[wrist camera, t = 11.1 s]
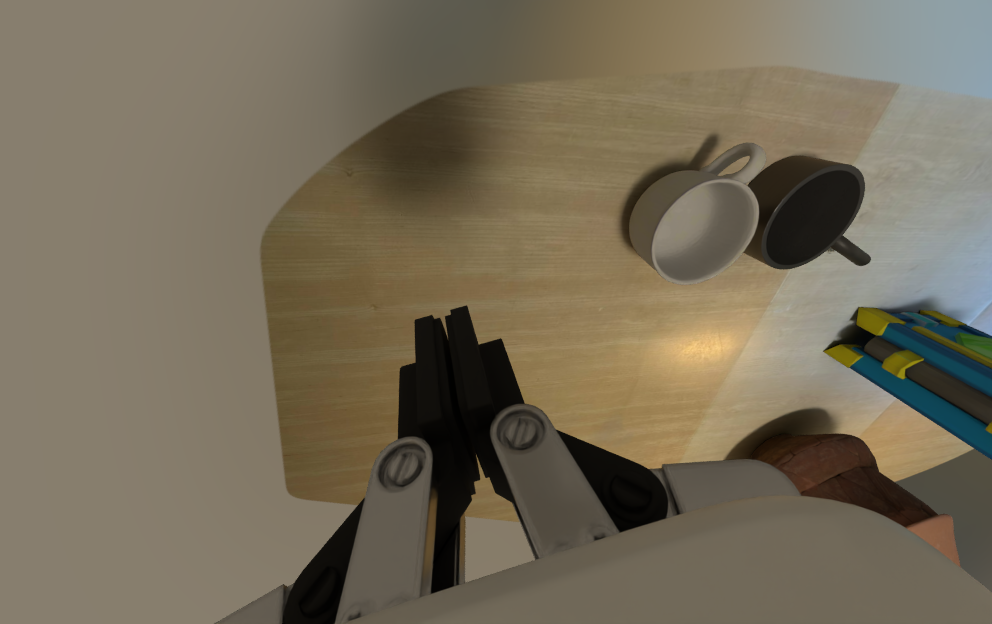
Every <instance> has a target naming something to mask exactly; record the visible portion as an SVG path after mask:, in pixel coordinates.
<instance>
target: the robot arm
mask: <svg viewBox="0 0 992 624" xmlns="http://www.w3.org/2000/svg"><path fill="white" fill-rule="evenodd" d="M450 311H451V315H448V316H445V320H446V327H447V333H448V338H447V335H446V332H445V329H444V327H443V324H442V321H441V319H440V318H437V319H434V317H433V316H432V315H430V316H427V317H423V318H419V319H416V320H415V354H416V363H413V364H409V365H406V366H402V367H401V368H400V379H399V416H398V440H396V441H394V442H392V443H391V444H389V445H388V446H387V447H386V448H385V449H384V450H382V451H381V453H380V454H379V456H378V457H377V458H376V460H375V462H374V465H373V468H372V471H371V475H370V479H369V483H368V487H367V492H366V496H365V498H364V499H363V500H362V501H361V502H360V504H359V505H358V506H357V507H356V508H355V510H354V511H353V512H352V513H351V514H350V515H349V517H348V518H347V519H346V520H345V521H344V523H343V524H342V525H341V526H340V527H339V529H338V530H337V531H336V532H335V533H334V535H333V536H332V537H331V538H330V539H329V540H328V541H327V543H326V544H325V545H324V547H322V549H321V550H320V551H319V552H318V553H317V555H316V556H315V557H314V558H313V559H312V560H311V562H310V563H309V564H308V565H307V567H306V568H305V569H304V570H303V571H302V573H301V574H300V576H299V577H298V578H297V580H296V581H295V583H293V584H292V585H290V586H288V587H287V586H285V585H284V584H283V585H281V586H279V587H278V588H276V589H274V590H272V591H271V592H269V593H267V594H265V595H264V596H262V597H260V598H258V599H257V600H255V601H253V602H251V603H250V604H248V605H246V606H244V607H243V608H241V609H239V610H237V611H236V612H234V613H232V614H230V615H229V616H227V617H225V618H223V619H222V620H220V621H218V622H216V623H214V624H992V593H991V592H990V591H989V590H988V589H986V588H985V587H984V586H983V585H982V584H981V583H979V582H978V581H977V580H976V579H974V578H973V577H972V576H970V575H969V574H968V573H967V572H965V571H964V570H963V569H962V568H960V567H959V566H958V565H956V564H955V563H954V562H953V561H951V560H950V559H949V558H948V557H946V556H945V555H944V554H943V553H941V552H940V551H939V550H937V549H936V548H934V547H933V546H932V545H930V544H929V543H927V542H926V541H925V540H923V539H922V538H920V537H919V536H917V535H916V534H914V533H913V532H911V531H910V530H908V529H907V528H905V527H903V526H902V525H900V524H898V523H896V522H894V521H893V520H891V519H889V518H887V517H885V516H883V515H881V514H879V513H876V512H874V511H871V510H868V509H865V508H862V507H859V506H856V505H852V504H848V503H843V502H839V501H835V500H830V499H822V498H815V497H808V496H801V494H800V493H799V491H798V490H797V488H796V487H795V485H794V484H793V483H792V482H791V480H790V479H789V478H788V477H787V476H786V475H785V474H784V473H783V472H781V471H780V470H778V469H777V468H775V467H774V466H772V465H770V464H767V463H765V462H762V461H759V460H751V459H738V460H723V461H707V462H692V463H676V464H662V468H659V469H647V468H645V467H644V466H642V465H640V464H638V463H635V462H633V461H630V460H628V459H626V458H623V457H621V456H618V455H616V454H614V453H611V452H609V451H606V450H604V449H602V448H599V447H597V446H594V445H592V444H589V443H587V442H585V441H582V440H580V439H577V438H575V437H573V436H570V435H568V434H565V433H563V432H561V431H558V430H556V429H555V428H554V426H553V425H552V423H551V421H550V420H549V418H548V417H547V415H546V414H545V413H544V412H543V411H542V410H541V409H539V408H537V407H536V406H533V405H529V404H525V403H524V400H523V397H522V395H521V392H520V389H519V386H518V383H517V381H516V378H515V375H514V372H513V369H512V366H511V364H510V361H509V358H508V355H507V352H506V350H505V347H504V344H503V341H502V339H497V340H494V341H490V342H487V343H483V344H480V345H478V341H477V338H476V334H475V331H474V328H473V324H472V321H471V317H470V314H469V310H468V307H467V306H463V307H459V308H456V309H452V310H450ZM448 340H449V341H448ZM476 455H477V457H478V460H479V462H480V465H481V467H482V470H483V472H484V475H485V477H486V478H488V477H490V480H491V483H492V485H493V488H494V490H495V493H496V494H498V495H500V496H502V497H503V498H505V499H507V500H509V501H510V502H512V504H513V507H514V509H515V511H516V514H517V516H518V519H519V521H520V524H521V526H522V529H523V531H524V533H525V536H526V539H527V541H528V543H529V546H530V548H531V551H532V553H533V556H534V558H535V560H534V561H531V562H528V563H525V564H522V565H518V566H516V567H512V568H509V569H506V570H503V571H500V572H497V573H494V574H491V575H488V576H485V577H482V578H479V579H476V580H472V581H470V582H466V583H465V514H464V512H465V510H466V509H467V507H468V506H469V504H470V503H471V501H472V497H471V495H473V494H476V492H475V486H474V482H475V481H478V480H480V474H479V468H478V463H477V457H476Z"/></svg>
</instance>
